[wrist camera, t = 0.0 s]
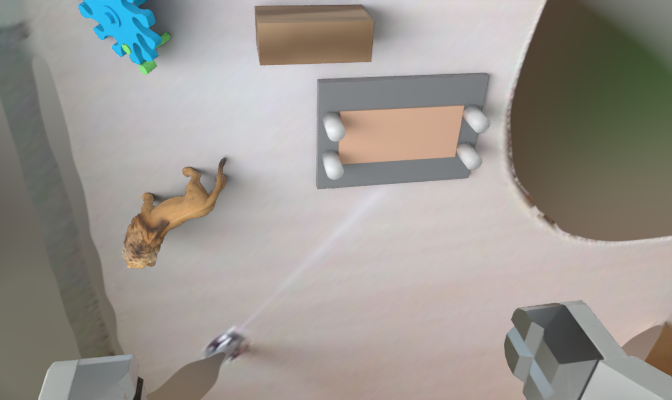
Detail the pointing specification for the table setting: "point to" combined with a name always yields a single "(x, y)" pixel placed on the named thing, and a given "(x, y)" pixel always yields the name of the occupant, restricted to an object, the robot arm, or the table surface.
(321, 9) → the block
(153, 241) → the lion figurine
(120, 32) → the blue spiky animal toy
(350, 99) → the cradle
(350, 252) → the table surface
